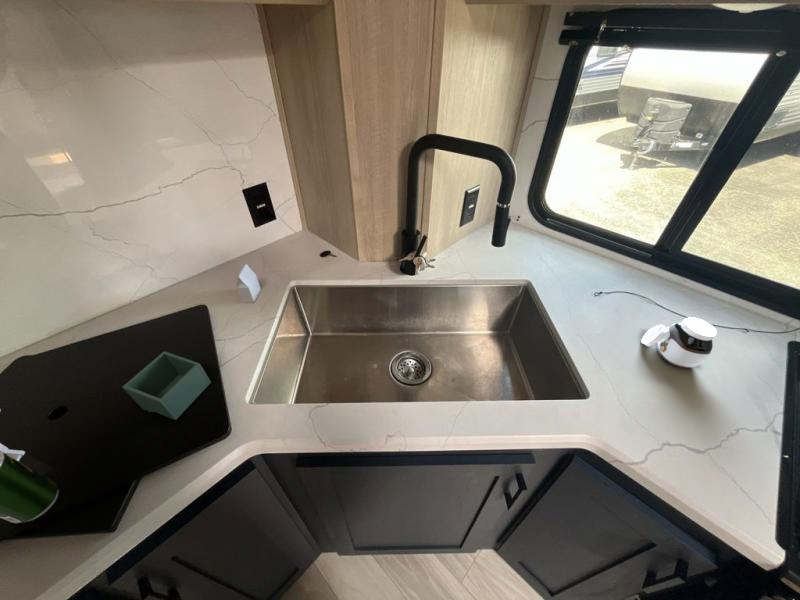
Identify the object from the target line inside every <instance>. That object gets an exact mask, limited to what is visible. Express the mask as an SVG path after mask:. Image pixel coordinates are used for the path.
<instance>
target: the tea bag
mask: <svg viewBox="0 0 800 600" xmlns="http://www.w3.org/2000/svg"><path fill="white" fill-rule="evenodd" d="M235 288H236V291H237V293H238V296H239V299H240V302H241V303H242V304H243V303H244V304H245V303H246V304H247V303H249V304H251V303H252V304H253V303H256V300H257V298H258V296H259V294H260V292H261V290H262V288H261V285H260V282H259V279H258V276H257V274H256V273H255V272H254V271H253V270H252V268H250V266H249V265H248V263H245V264H244V265H243V267H242V268H241V270H240V272H239V273H238V275H237V281H236V286H235Z"/></svg>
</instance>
